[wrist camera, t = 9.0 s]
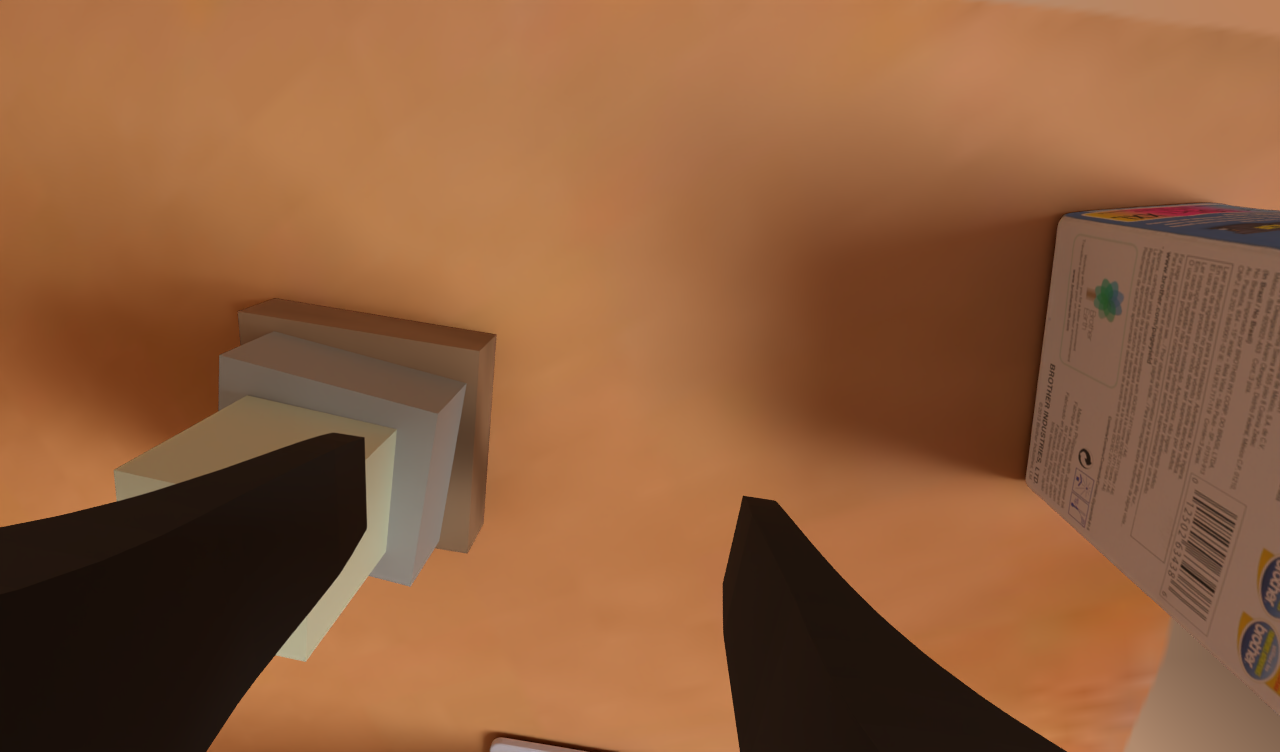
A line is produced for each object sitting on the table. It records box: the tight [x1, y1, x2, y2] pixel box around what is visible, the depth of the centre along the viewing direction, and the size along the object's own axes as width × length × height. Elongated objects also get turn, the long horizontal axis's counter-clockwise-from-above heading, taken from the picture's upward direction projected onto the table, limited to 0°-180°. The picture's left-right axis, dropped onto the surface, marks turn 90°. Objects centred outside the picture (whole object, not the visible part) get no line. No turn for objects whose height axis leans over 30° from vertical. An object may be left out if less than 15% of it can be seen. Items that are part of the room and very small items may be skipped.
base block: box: [238, 298, 496, 554], centre depth 22 cm, size 8×8×2 cm
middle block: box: [219, 331, 467, 587], centre depth 20 cm, size 6×6×2 cm
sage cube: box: [114, 395, 397, 662], centre depth 16 cm, size 4×4×4 cm
